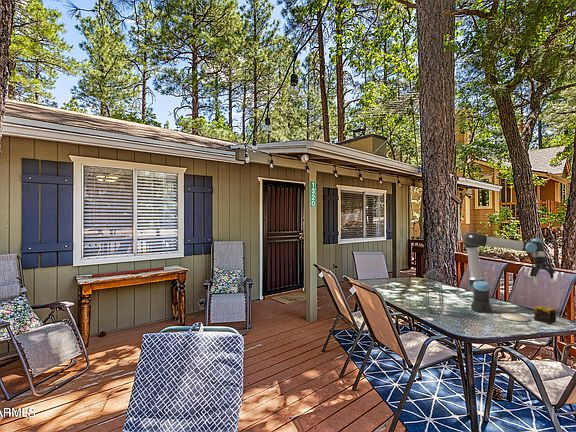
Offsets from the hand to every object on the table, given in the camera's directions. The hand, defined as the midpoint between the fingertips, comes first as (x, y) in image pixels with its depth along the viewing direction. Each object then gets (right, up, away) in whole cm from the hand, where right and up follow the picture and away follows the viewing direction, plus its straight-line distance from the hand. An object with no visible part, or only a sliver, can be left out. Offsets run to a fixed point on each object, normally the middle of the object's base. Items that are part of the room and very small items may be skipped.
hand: (543, 283), depth 261 cm
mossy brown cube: (-14, -24, -19) cm, 34 cm away
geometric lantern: (-85, -25, +6) cm, 88 cm away
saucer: (-31, -24, -11) cm, 40 cm away
